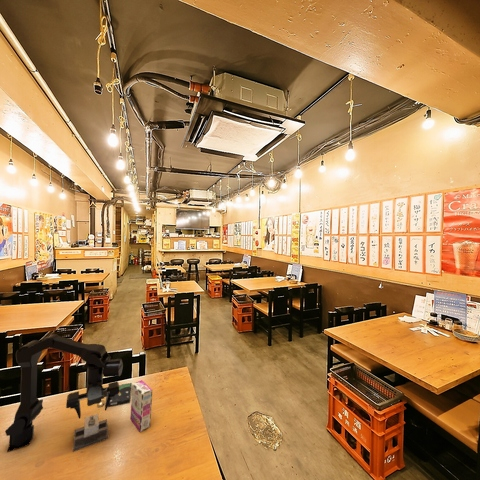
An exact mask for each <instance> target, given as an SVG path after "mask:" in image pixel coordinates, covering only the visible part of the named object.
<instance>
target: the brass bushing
mask: <svg viewBox="0 0 480 480" xmlns="http://www.w3.org/2000/svg"><path fill="white" fill-rule="evenodd" d="M105 402H106V400H103V399H101V402H100V403H98V404H96V407H97V408H103V407H105Z"/></svg>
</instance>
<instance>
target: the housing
mask: <svg viewBox="0 0 480 480" xmlns="http://www.w3.org/2000/svg"><path fill="white" fill-rule="evenodd" d="M99 417H100V415H99V413H96V414H92V415H90V416H87V417H84V426H83V427H84V438H85V437H88V436H91V435H93V434H96V433H98V430H99V422H100V420H99V419H100V418H99Z"/></svg>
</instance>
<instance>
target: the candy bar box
mask: <svg viewBox="0 0 480 480" xmlns="http://www.w3.org/2000/svg"><path fill="white" fill-rule="evenodd" d="M152 400H153V389H152V388H151V387H150V386H149V385H148V384H146V382H144V381H143V379H141V380H139V381H136V382H134V383H132V386H131V399H130V421H131V422H132V423H133V424H134V426H135V428H136V429H137V430H138V431H139V432H140V433H142V432H143V431H145V430H147V429H149V428H150V427H151V419H152V418H151V417H152V406H153V405H152Z"/></svg>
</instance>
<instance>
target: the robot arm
mask: <svg viewBox="0 0 480 480" xmlns="http://www.w3.org/2000/svg"><path fill="white" fill-rule="evenodd" d="M48 348H51V349H54V350H58V351H61V352H64V353H67V354H71V355H74V356H78V357H80V359H81V360H82V361H83V362H85V363H84V365H82V367H81V369H82V370H83V369H87V374H86V376H87V377H86V391H85V392H84V393H80V391H79V390H78V391H75V392H70V393H69V394H68V395H67V396H66V397H67V398H66V402H65V403H66V406H65V408H66V409H70V410H72V409H74V411H75V412H76V414H77V418H78V419H81V416H82V413H81V412H82V411H81V400H85V399H87V400H86V403H87V405H86V406H87V407H91V406H93V405H97V404H98V403H100V402H101V400H103V399H105V402H104V411H107V409H108V408H109V407H108V404H109V402H110V400H111V398H112V397H114V396H115V395H116V394H118V393H119V385H120V384H119V382H118V381H117V380H116V381H114V382H109V383H108V385H107V387H104V386H103V379H104V378H103V377H105V378H111V377H120V376H121V375H122V373H123V367H124V363H123V360H122V358H116V359H113V358H112V357H111V355H110V354H109V353H108V351H107V349H106V346H105V345H103V344H100V343H83V342H80V341H77V340H75V339H71V338H67V337H64V336H60V335H59V334H57V333H53V334H51V335H50V336H47V337H43V338H41V339H39V340H37V339H34V340H32V341H30V342H27V343H26V344H25V345H22V346H21V347H20V348H18V349H17V350H16V352H15V359H16V364H18V366H19V367H20V370H21V371H20V372H21V373H20V374H21V375H20V396H19V397H20V398H19V400H20V401H19V402H20V404H19V406H18V408H17V410H16V412H15V414H14V418H13V423H12V424H11V425H9V427H7V429H6V430H5V431H4V432H5V435H6V436H7V437H8V439H9V443H8V447H7V449H6V451H7V453H9V452H12V451H14V450H17V449H21V448H24V447H26V446H29V445H30V444H31V440H33V438H34V433H35V425H34V424H33V421H34V420H35V419H37V417H38V416H39V415H40V413H41V411H43V409H44V407H43V401H44V399H39V398H38V397H37V388H38V387H37V385H38V384H37V383H38V363H39V360H40V359H41V358H40V357H41V356H42V353H43V351H45V350H47V349H48ZM111 358H112V359H111Z"/></svg>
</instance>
